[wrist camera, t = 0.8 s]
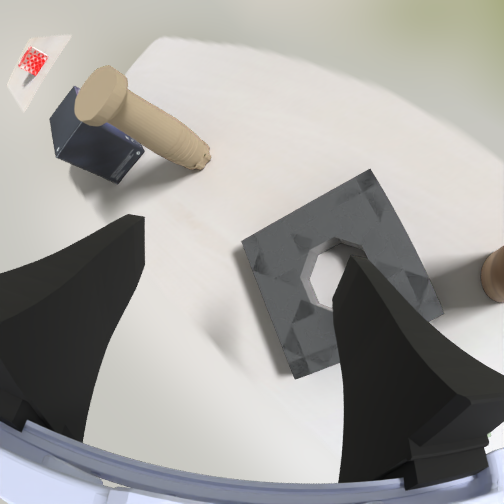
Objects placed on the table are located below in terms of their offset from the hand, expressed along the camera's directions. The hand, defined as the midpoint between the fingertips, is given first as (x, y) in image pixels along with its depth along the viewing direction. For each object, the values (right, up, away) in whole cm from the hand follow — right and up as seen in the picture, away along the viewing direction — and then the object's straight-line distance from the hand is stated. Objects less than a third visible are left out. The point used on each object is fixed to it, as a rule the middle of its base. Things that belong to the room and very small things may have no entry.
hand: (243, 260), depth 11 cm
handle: (-5, +10, +23) cm, 26 cm away
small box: (-18, +15, +31) cm, 39 cm away
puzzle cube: (-72, +65, +68) cm, 119 cm away
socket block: (+8, -2, +14) cm, 16 cm away
